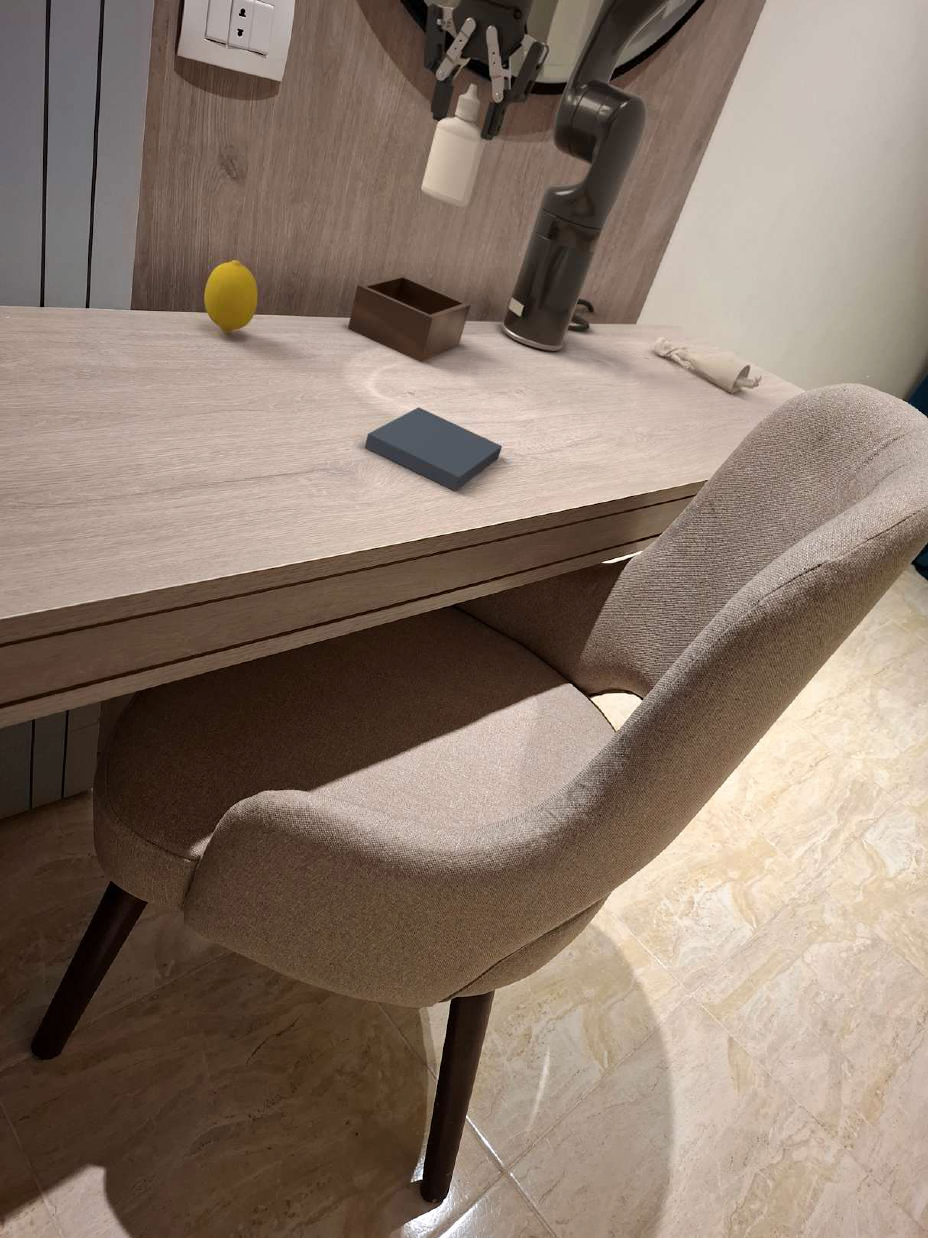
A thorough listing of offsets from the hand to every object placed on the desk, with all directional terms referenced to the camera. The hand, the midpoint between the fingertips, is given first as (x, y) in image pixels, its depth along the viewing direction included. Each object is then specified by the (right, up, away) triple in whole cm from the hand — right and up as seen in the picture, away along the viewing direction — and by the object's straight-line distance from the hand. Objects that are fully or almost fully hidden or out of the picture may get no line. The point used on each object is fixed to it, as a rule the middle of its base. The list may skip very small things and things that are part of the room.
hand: (462, 128), depth 101 cm
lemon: (-26, -23, -1) cm, 35 cm away
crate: (-7, -18, +16) cm, 25 cm away
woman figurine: (+38, -16, +43) cm, 59 cm away
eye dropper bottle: (-2, -6, +4) cm, 8 cm away
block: (-3, -38, -11) cm, 40 cm away
